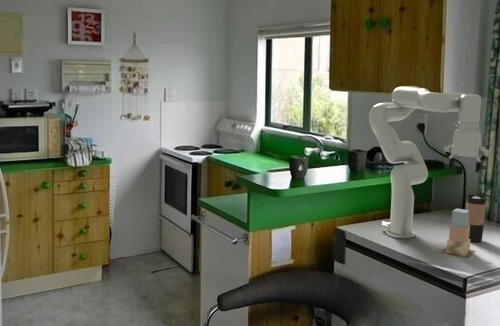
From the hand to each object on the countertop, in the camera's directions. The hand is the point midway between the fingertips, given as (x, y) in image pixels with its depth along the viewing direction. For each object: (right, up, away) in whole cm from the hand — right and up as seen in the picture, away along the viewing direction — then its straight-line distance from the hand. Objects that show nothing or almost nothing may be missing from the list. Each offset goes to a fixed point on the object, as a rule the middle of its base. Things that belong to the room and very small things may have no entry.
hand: (464, 170), depth 224 cm
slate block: (0, -22, +4) cm, 22 cm away
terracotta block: (0, -28, +5) cm, 28 cm away
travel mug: (+11, -31, +21) cm, 39 cm away
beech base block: (0, -33, +6) cm, 33 cm away
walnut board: (0, -34, +6) cm, 34 cm away
